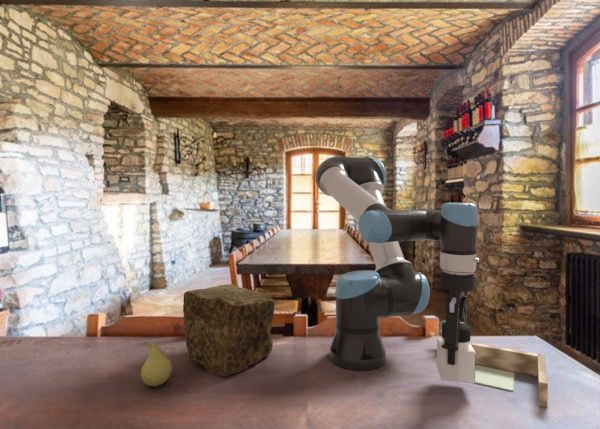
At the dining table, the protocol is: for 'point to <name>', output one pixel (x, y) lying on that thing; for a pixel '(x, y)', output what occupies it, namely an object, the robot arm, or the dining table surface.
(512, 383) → the pad
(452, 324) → the robot arm
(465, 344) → the medicine bottle
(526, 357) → the corner arena
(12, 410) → the dining table surface
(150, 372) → the fruit
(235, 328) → the decorative stone
